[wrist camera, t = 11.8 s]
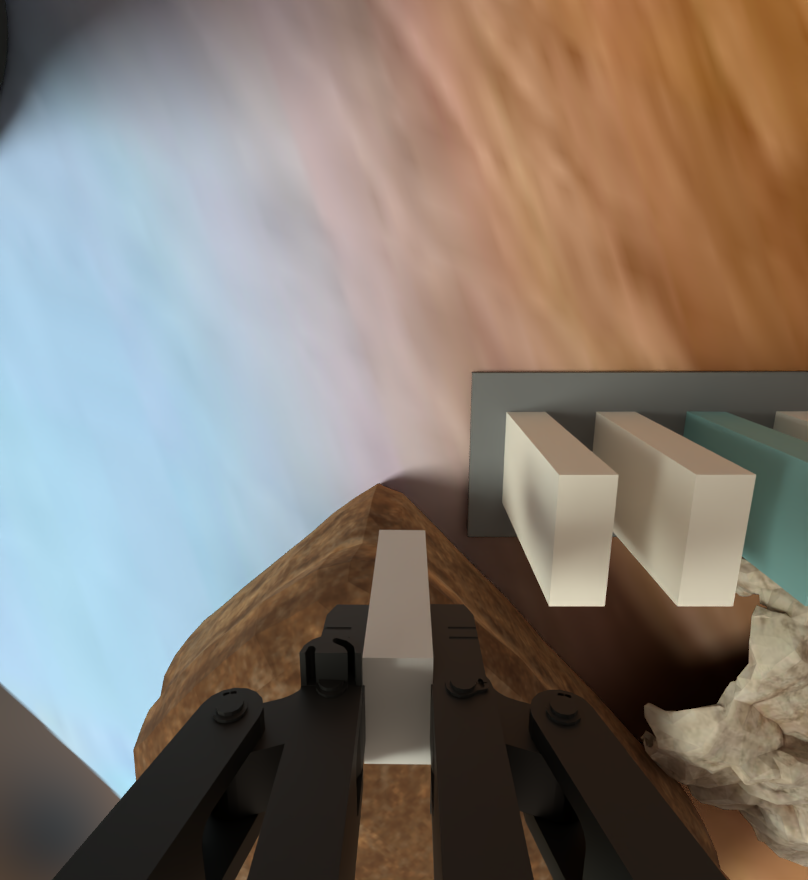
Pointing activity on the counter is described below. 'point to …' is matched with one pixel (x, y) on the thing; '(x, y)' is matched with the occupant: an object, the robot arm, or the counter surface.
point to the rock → (751, 728)
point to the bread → (302, 619)
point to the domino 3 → (792, 423)
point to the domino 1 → (559, 508)
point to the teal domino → (765, 493)
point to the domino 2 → (676, 507)
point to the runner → (592, 392)
